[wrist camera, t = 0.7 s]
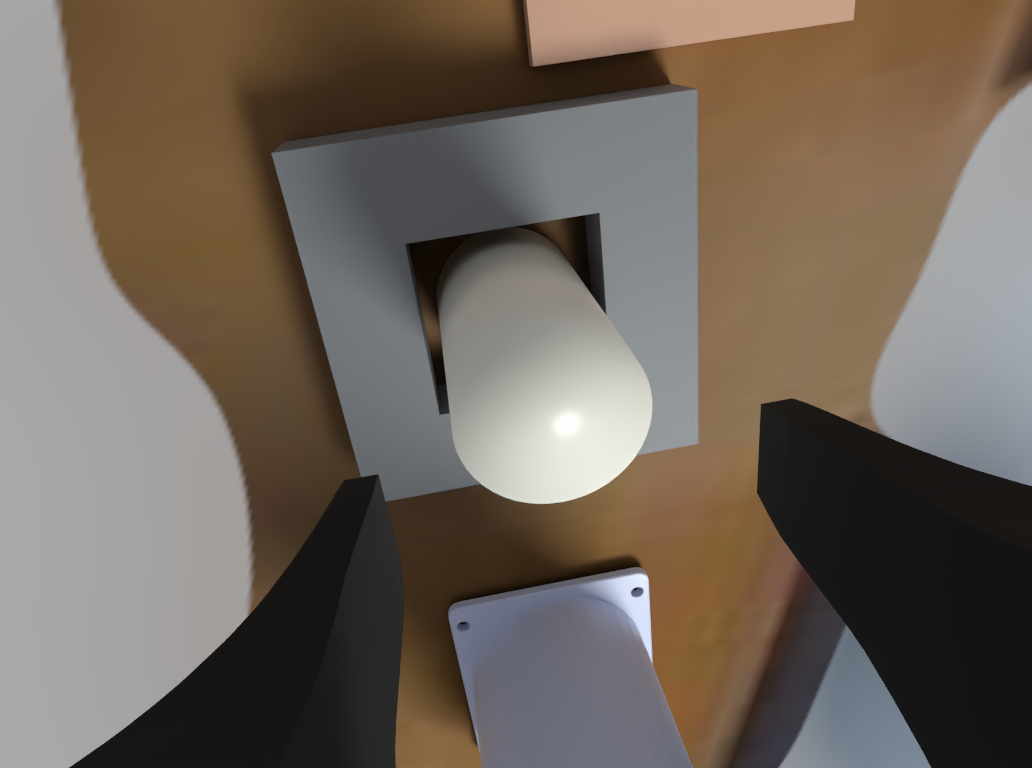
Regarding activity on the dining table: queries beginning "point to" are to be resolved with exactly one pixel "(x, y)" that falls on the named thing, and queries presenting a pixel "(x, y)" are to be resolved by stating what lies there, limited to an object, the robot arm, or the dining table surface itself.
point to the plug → (535, 371)
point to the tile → (660, 23)
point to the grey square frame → (488, 206)
